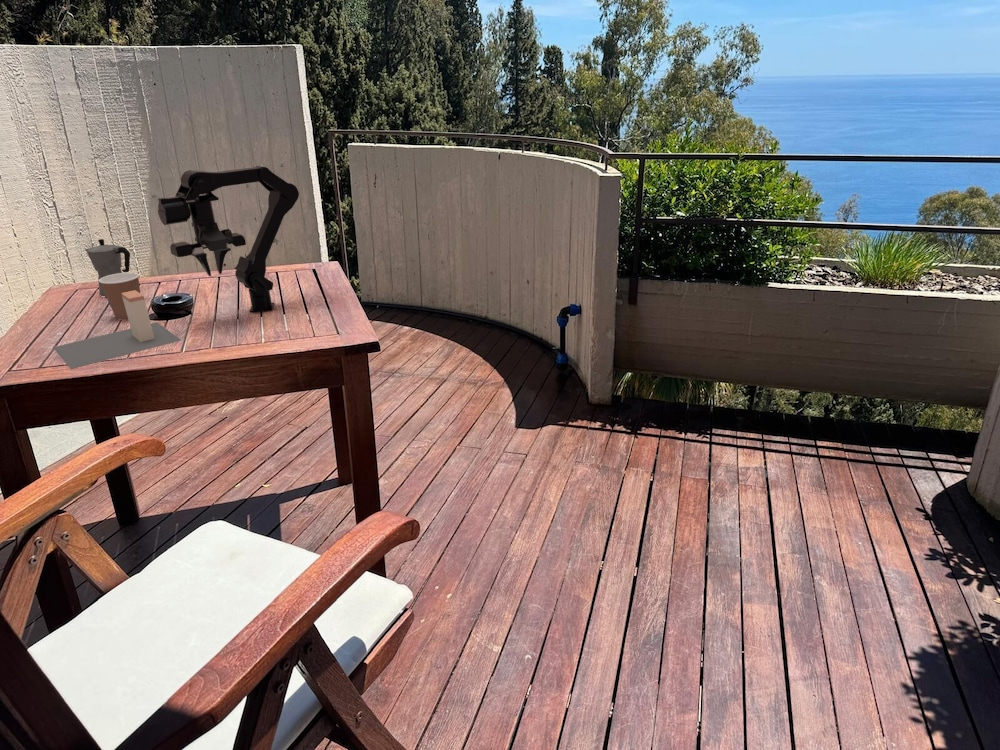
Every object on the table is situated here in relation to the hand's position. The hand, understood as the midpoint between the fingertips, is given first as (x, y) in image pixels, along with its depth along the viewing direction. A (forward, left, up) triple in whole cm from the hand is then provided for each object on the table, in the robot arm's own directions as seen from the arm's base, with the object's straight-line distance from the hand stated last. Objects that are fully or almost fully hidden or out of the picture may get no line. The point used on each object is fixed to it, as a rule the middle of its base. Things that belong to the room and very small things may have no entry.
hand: (215, 274), depth 188 cm
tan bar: (+11, -19, -13) cm, 25 cm away
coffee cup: (-10, -28, -13) cm, 33 cm away
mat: (+14, -25, -13) cm, 31 cm away
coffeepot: (-36, -38, -13) cm, 54 cm away
